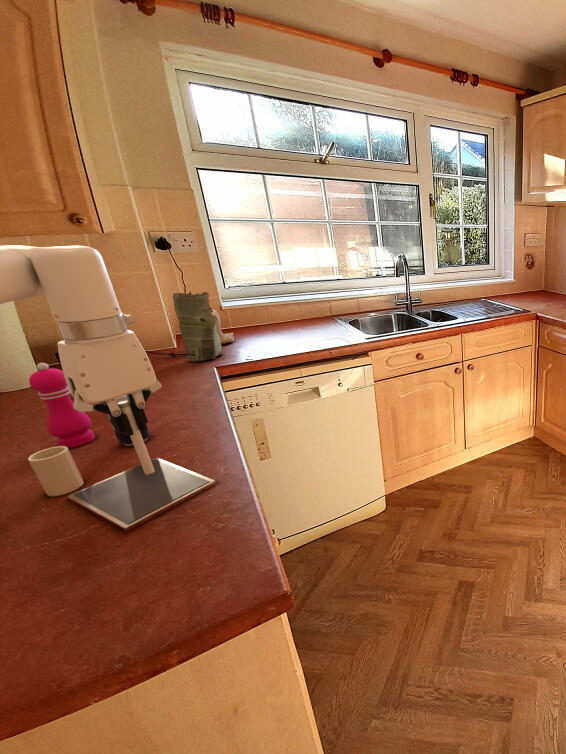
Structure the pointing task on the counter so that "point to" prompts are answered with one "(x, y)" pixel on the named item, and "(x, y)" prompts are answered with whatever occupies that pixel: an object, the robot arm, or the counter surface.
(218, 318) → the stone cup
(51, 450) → the pen pot
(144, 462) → the stylus
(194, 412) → the counter surface
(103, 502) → the tablet
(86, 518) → the counter surface
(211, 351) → the pouch
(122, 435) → the beverage can
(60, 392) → the pepper mill
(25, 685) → the counter surface
